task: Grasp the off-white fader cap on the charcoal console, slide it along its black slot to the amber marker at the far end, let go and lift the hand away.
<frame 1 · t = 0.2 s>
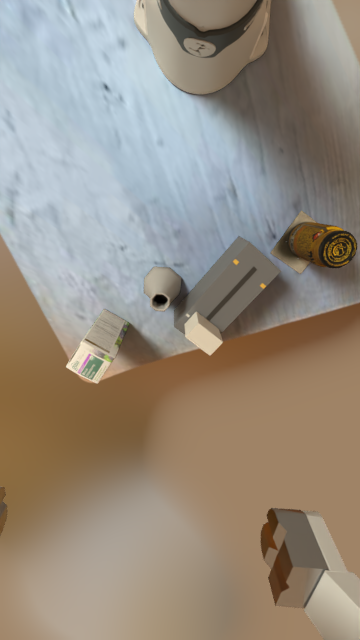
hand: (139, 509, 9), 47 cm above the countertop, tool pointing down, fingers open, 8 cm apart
syrup box: (110, 325, 58), on the countertop
flask: (162, 284, 55), on the countertop
fader: (202, 332, 47), point 11 cm above the countertop, slide at 0.0 cm
condiment: (300, 243, 53), on the countertop
console: (218, 286, 55), on the countertop
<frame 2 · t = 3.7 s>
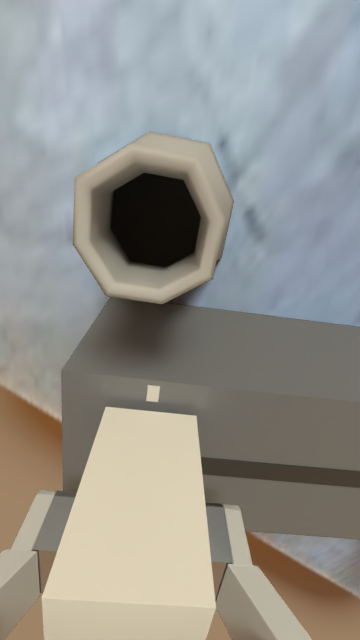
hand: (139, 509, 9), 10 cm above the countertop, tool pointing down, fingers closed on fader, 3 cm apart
flask: (163, 212, 15), on the countertop
fader: (136, 541, 8), point 11 cm above the countertop, slide at 0.0 cm, touching gripper
console: (250, 365, 19), on the countertop
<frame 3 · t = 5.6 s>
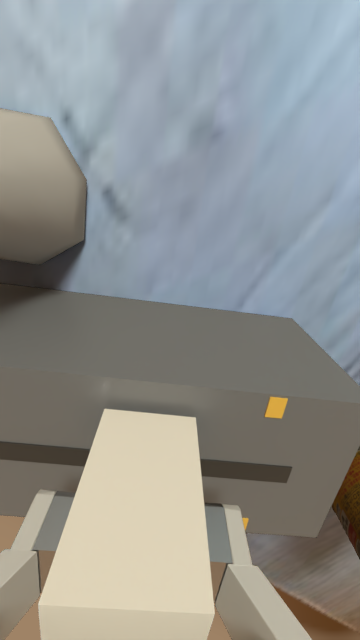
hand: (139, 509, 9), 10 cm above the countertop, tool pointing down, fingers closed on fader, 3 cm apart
flask: (19, 192, 15), on the countertop
fader: (135, 544, 8), point 11 cm above the countertop, slide at 7.3 cm, touching gripper
condiment: (336, 445, 22), on the countertop
console: (135, 353, 18), on the countertop
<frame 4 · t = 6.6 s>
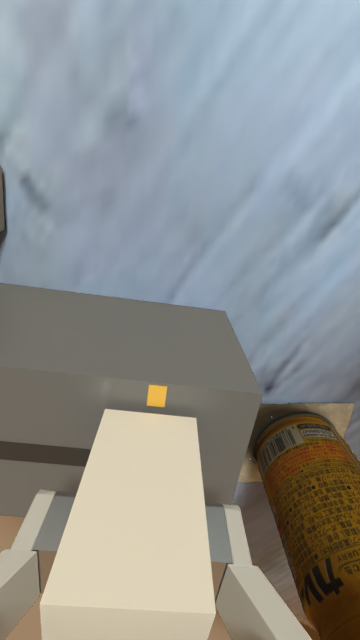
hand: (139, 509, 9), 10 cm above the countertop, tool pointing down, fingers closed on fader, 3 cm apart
fader: (135, 544, 8), point 11 cm above the countertop, slide at 11.4 cm, touching gripper
condiment: (282, 440, 21), on the countertop
console: (68, 346, 18), on the countertop
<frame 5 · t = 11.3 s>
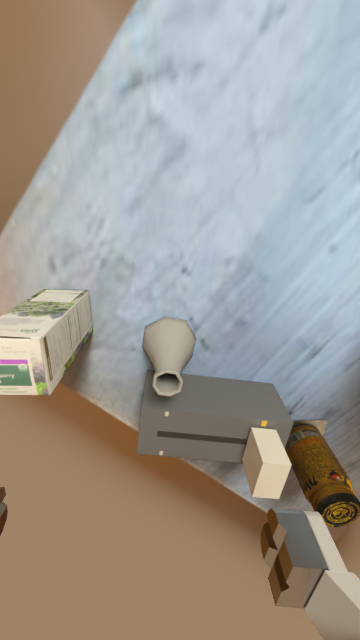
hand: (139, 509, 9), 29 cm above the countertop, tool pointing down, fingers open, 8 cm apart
syrup box: (69, 309, 38), on the countertop
flask: (169, 340, 40), on the countertop
fader: (264, 461, 33), point 11 cm above the countertop, slide at 11.5 cm
condiment: (295, 437, 46), on the countertop
console: (206, 397, 43), on the countertop
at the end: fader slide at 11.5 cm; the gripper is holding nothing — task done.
